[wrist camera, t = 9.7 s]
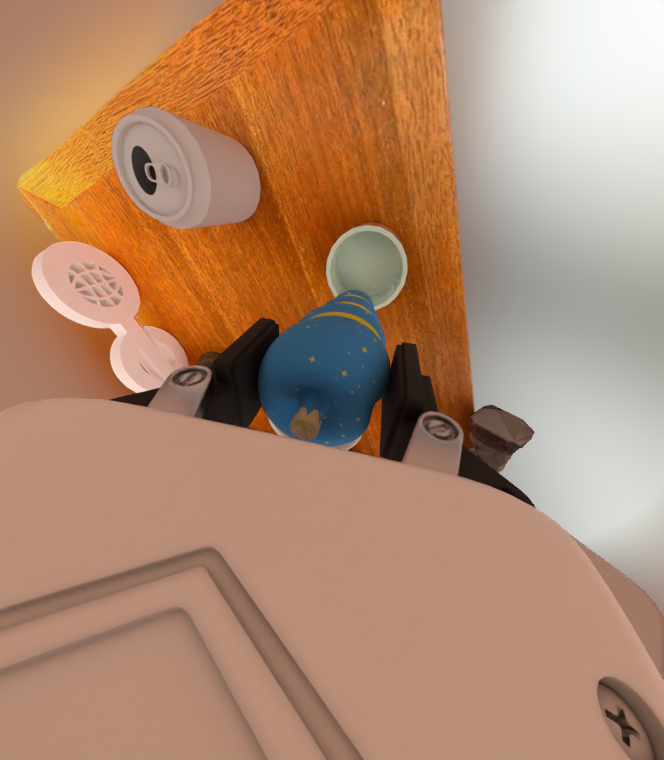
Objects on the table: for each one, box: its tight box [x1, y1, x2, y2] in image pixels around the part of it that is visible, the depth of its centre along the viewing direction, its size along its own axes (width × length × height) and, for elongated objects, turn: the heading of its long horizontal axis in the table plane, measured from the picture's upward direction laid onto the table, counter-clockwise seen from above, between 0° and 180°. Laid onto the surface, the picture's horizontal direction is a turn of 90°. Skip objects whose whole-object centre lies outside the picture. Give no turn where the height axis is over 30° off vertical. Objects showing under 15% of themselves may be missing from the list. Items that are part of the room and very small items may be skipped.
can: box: [111, 106, 261, 229], centre depth 23 cm, size 8×8×12 cm
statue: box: [469, 405, 534, 473], centre depth 43 cm, size 8×7×30 cm
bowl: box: [326, 222, 407, 310], centre depth 28 cm, size 8×8×5 cm
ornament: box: [257, 290, 390, 447], centre depth 13 cm, size 5×5×15 cm
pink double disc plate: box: [32, 241, 189, 393], centre depth 36 cm, size 22×2×10 cm, turn 21°
